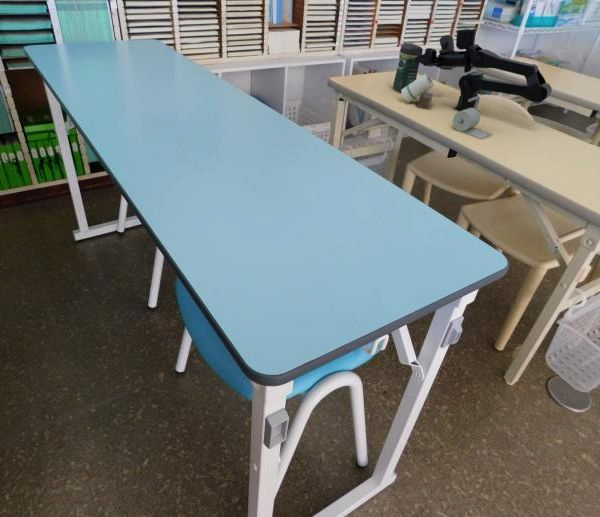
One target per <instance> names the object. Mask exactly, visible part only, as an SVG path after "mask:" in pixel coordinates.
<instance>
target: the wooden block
mask: <svg viewBox="0 0 600 517" xmlns="http://www.w3.org/2000/svg"><path fill="white" fill-rule="evenodd" d="M433 96H434V93H432V92H427V91H426V92H425V93H423V94H422V95H420V96H419V99H418V103H417V108H421V109H425V110H428V109H429V108H430V107H431V104H432V101H433Z"/></svg>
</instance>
